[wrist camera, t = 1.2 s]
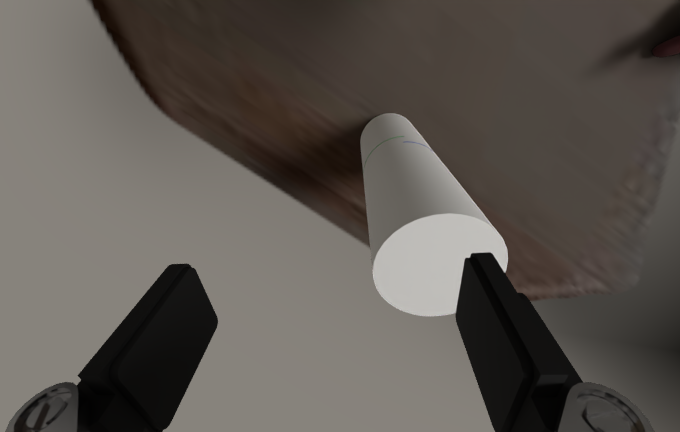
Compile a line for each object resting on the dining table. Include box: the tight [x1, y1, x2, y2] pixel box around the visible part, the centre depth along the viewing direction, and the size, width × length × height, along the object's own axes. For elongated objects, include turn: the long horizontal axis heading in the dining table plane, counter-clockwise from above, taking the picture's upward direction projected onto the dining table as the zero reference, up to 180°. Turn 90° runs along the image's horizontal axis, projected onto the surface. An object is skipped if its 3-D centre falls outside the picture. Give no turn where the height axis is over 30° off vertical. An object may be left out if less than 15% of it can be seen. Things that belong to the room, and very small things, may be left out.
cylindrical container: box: [360, 113, 508, 316], centre depth 27 cm, size 7×7×25 cm
